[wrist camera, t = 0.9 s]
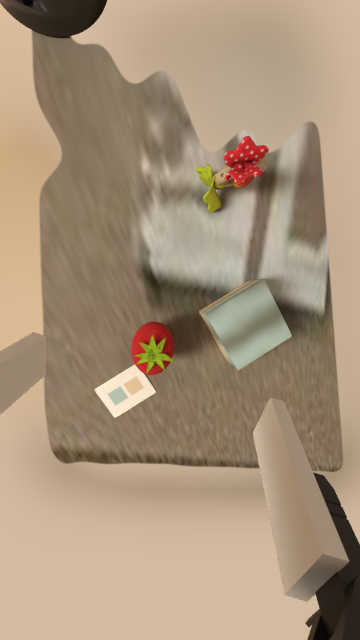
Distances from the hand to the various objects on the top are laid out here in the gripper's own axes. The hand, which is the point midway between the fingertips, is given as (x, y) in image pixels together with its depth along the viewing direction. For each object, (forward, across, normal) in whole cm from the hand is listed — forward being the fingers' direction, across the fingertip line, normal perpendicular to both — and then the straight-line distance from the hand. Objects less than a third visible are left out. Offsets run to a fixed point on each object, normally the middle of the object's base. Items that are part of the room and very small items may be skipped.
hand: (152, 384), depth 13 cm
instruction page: (+19, -6, -18) cm, 27 cm away
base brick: (+27, +9, -4) cm, 29 cm away
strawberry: (+22, -4, -10) cm, 25 cm away
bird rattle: (+31, +1, +15) cm, 35 cm away
